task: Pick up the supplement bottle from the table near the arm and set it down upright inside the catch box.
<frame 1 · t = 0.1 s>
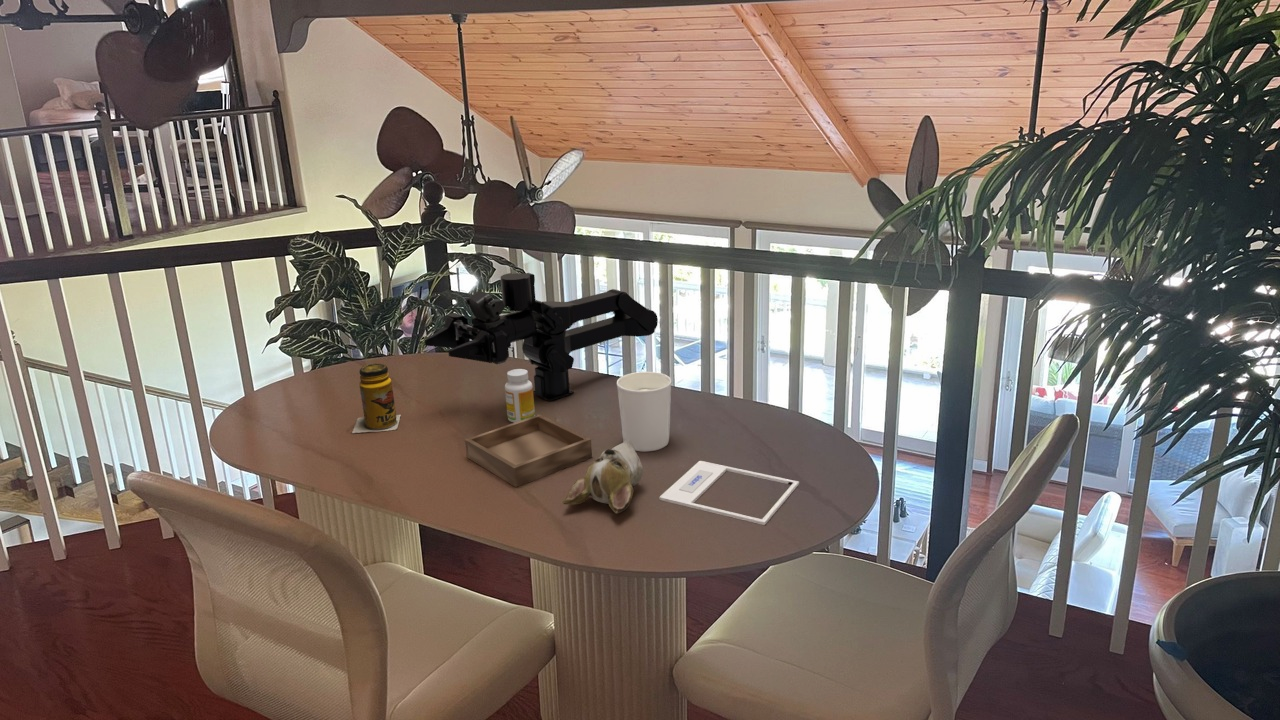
hand: (436, 348, 167), 17 cm above the table, fingers open, 9 cm apart
supplement bottle: (521, 419, 176), on the table
photo frame: (729, 495, 145), on the table
condiment: (377, 425, 176), on the table
candle holder: (646, 443, 164), on the table
catch box: (529, 457, 159), on the table
ceramic sculpture: (610, 499, 144), on the table
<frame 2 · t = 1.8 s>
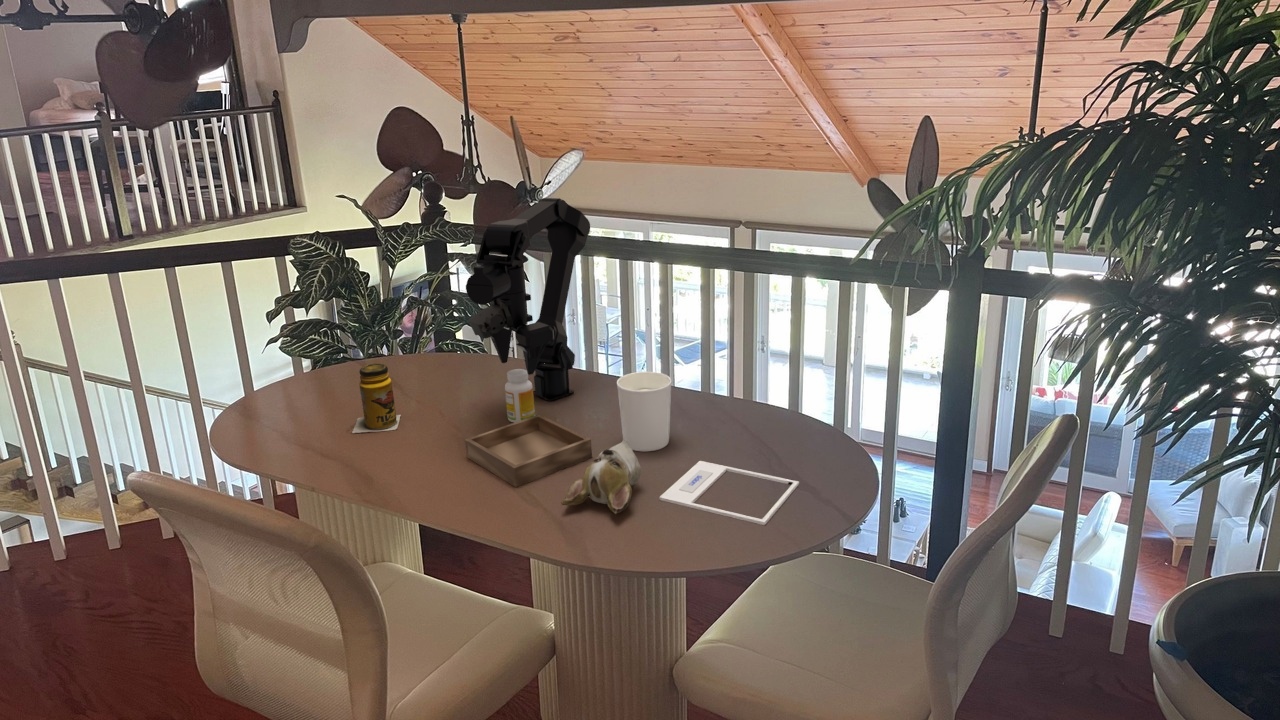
hand: (517, 368, 173), 10 cm above the table, fingers open, 9 cm apart
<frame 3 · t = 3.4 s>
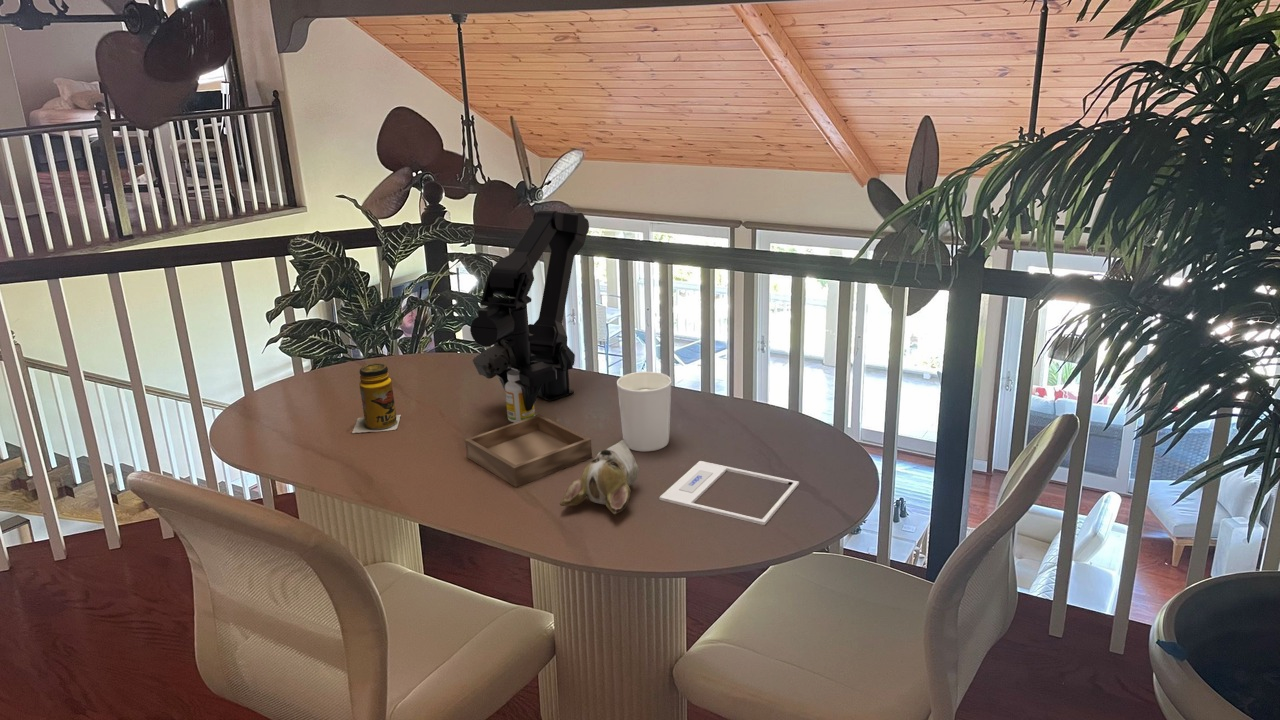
hand: (520, 406, 176), 3 cm above the table, fingers closed on supplement bottle, 5 cm apart
supplement bottle: (521, 419, 176), on the table, touching gripper
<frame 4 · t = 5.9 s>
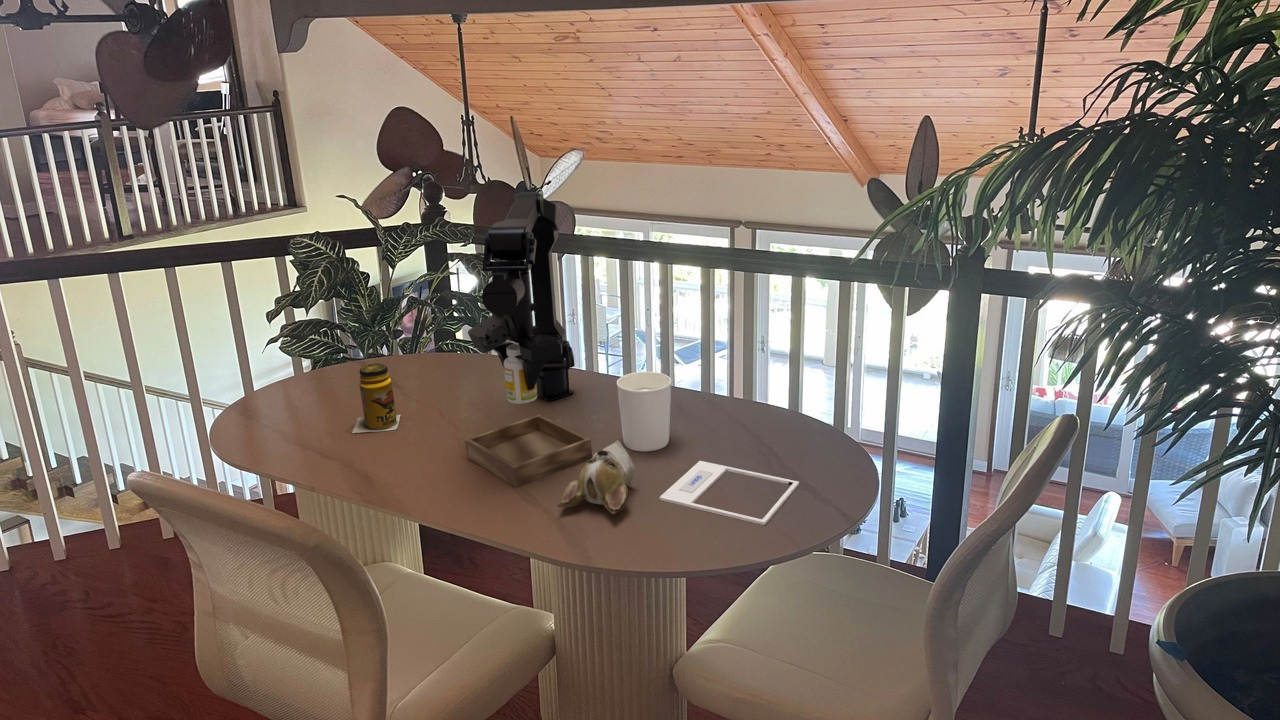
hand: (521, 385, 157), 13 cm above the table, fingers closed on supplement bottle, 5 cm apart
supplement bottle: (522, 400, 158), point 10 cm above the table, touching gripper
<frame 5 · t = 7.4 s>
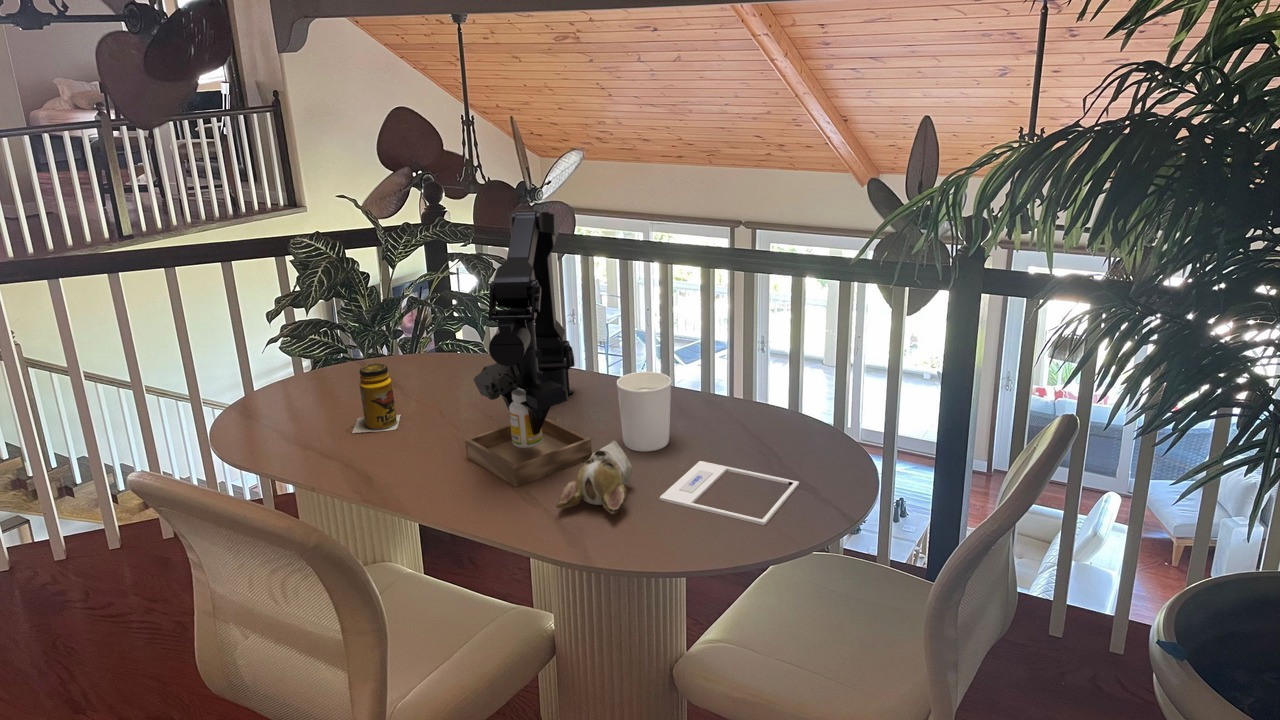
hand: (526, 429, 158), 5 cm above the table, fingers closed on supplement bottle, 5 cm apart
supplement bottle: (527, 443, 159), point 3 cm above the table, touching gripper
when the fingers open (5 cm above the table, at t = 8.4 s): supplement bottle drops 1 cm, resting on catch box.
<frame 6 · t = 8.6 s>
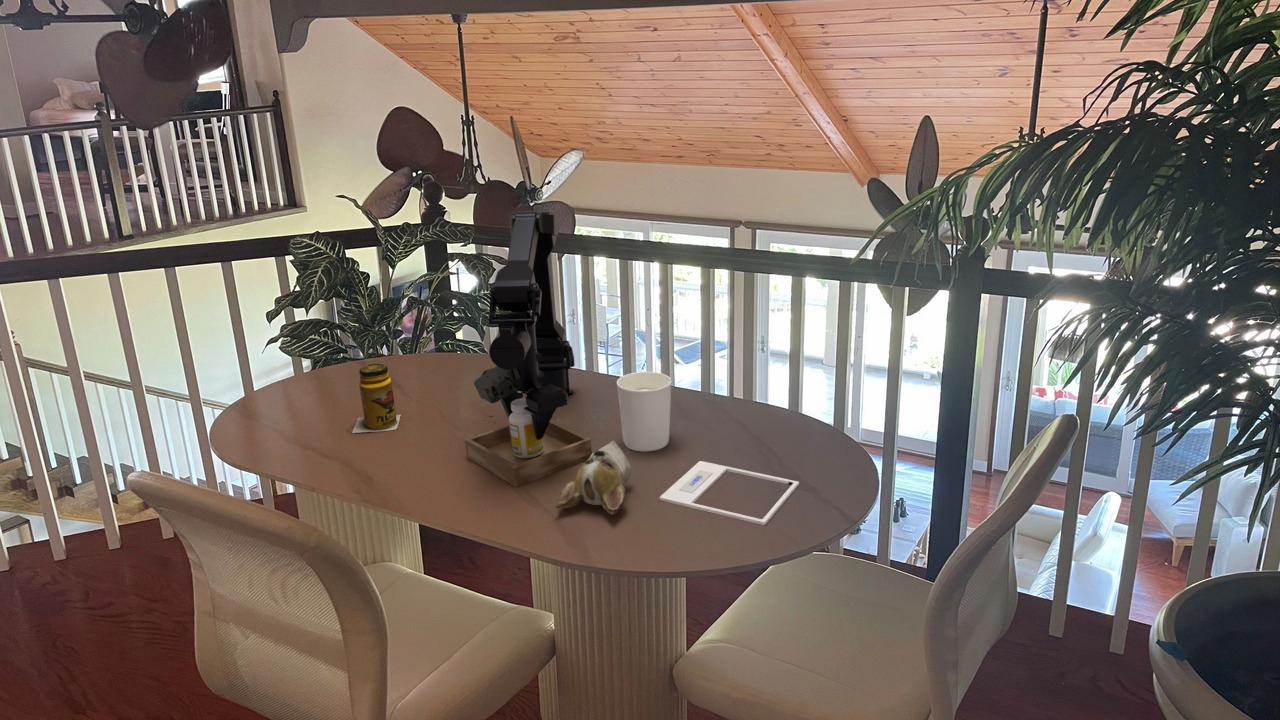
hand: (527, 432, 158), 5 cm above the table, fingers open, 7 cm apart
supplement bottle: (528, 453, 159), point 1 cm above the table, touching catch box
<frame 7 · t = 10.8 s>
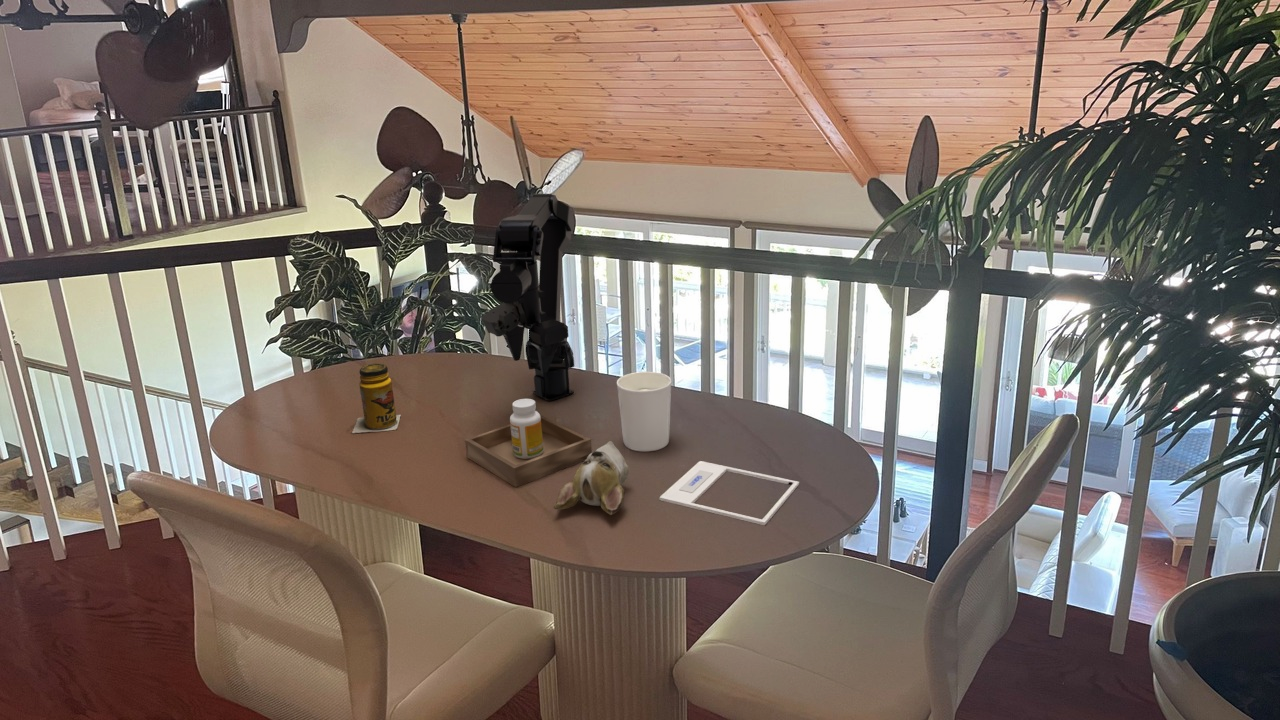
hand: (530, 366, 170), 12 cm above the table, fingers open, 9 cm apart
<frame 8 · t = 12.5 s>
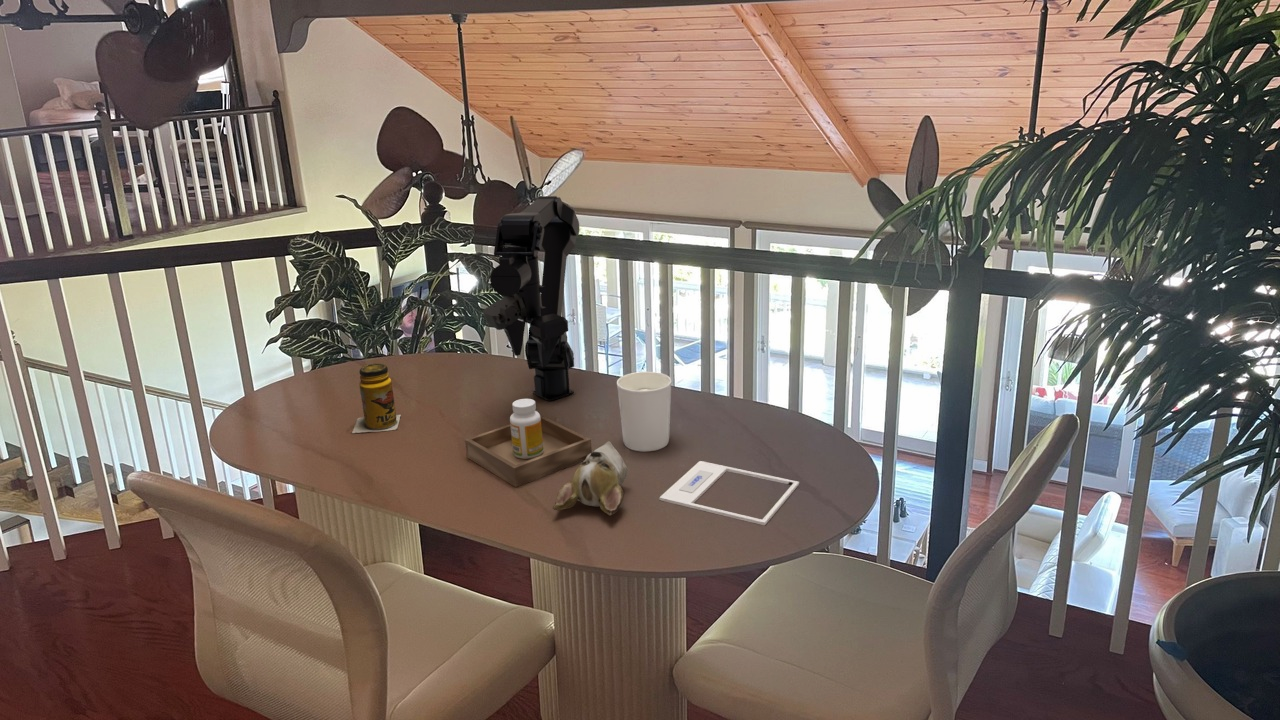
hand: (530, 360, 172), 12 cm above the table, fingers open, 9 cm apart
at the end: supplement bottle inside the target area on the catch box (0.1 cm from its centre), point 0.6 cm above the catch box's base; supplement bottle tilted 0°; the gripper is holding nothing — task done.
